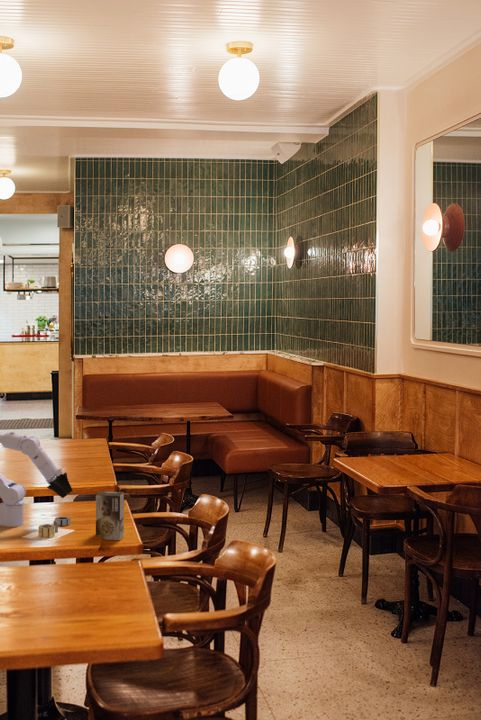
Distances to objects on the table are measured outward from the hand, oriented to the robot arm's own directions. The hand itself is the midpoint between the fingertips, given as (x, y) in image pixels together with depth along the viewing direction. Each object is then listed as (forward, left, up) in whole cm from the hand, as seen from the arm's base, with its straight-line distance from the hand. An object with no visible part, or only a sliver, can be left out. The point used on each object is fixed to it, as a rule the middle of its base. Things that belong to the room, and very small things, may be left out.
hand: (67, 494), depth 302 cm
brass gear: (+1, -14, -12) cm, 19 cm away
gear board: (0, -11, -13) cm, 17 cm away
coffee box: (+20, -3, -13) cm, 24 cm away
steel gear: (-3, +3, -13) cm, 14 cm away
